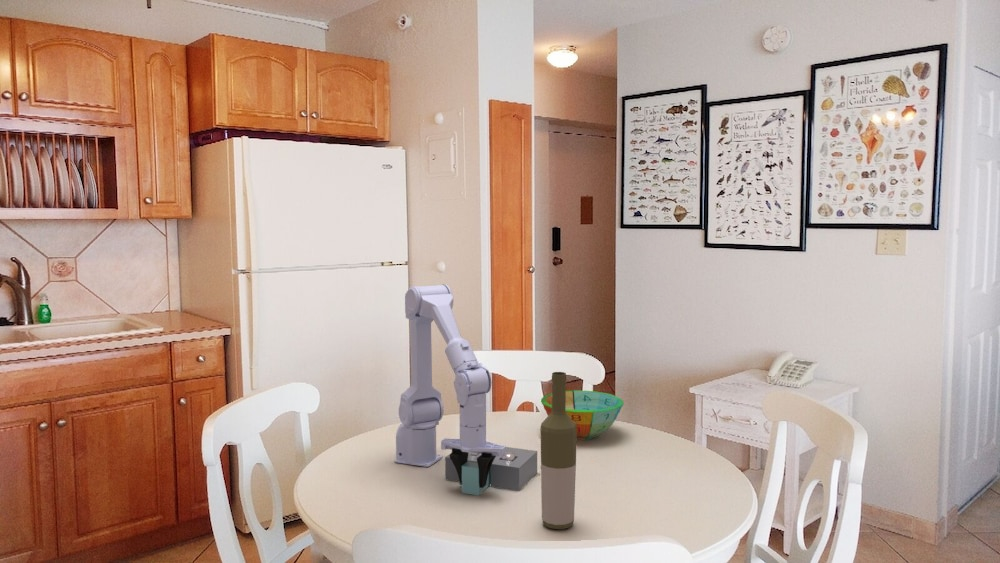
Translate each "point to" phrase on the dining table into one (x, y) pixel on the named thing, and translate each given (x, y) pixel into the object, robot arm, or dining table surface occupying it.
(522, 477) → the housing
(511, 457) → the plunger right
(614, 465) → the dining table surface
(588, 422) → the bowl
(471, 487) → the cartridge
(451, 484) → the dining table surface
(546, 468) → the bottle
